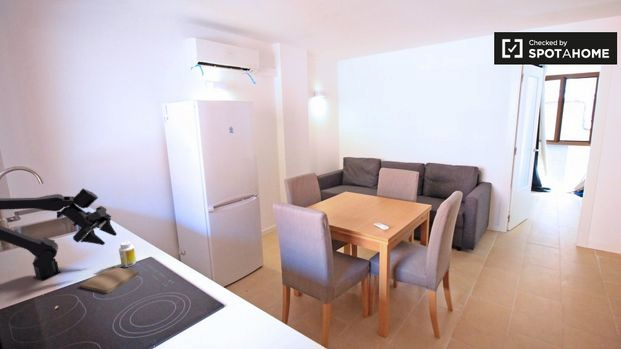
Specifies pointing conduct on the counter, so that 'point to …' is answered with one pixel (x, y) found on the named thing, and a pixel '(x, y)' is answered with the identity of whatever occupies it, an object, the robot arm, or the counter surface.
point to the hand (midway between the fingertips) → (110, 239)
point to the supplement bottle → (127, 254)
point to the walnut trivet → (109, 279)
